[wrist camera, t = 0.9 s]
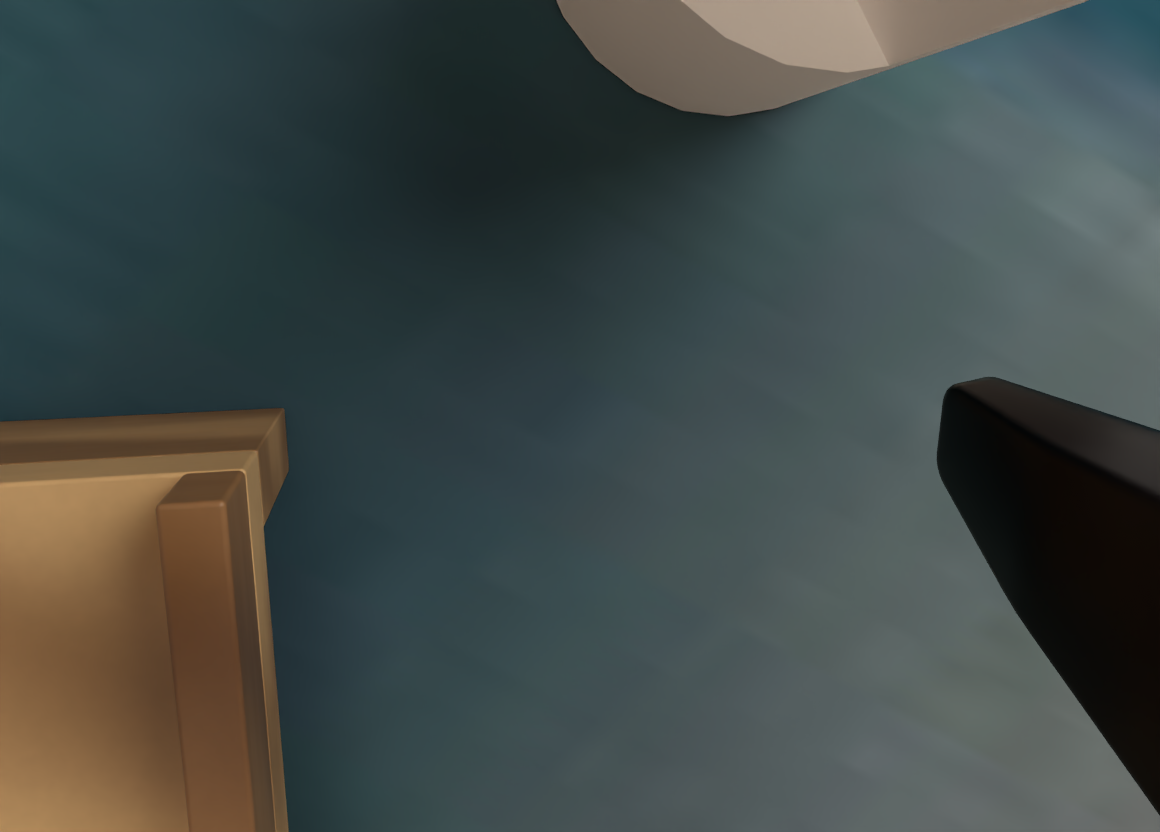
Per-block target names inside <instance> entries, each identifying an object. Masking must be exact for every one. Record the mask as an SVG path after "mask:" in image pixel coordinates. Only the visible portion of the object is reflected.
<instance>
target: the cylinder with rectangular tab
mask: <svg viewBox="0 0 1160 832" xmlns="http://www.w3.org/2000/svg"><path fill="white" fill-rule="evenodd" d="M556 1H557V3H558V6H559V8H560V10H561V13H562V15H563V17H564V18H565V20H566V21H567V22H568V24H569V25H570V26H571V28H572V29H573V30H574V31H575V33H576V34H577V35H578V37H579V38H580V39H581V41H582V42H583V43H584V45H585V46H586V47H587V49H588V50H589V51H590V53H591V54H592V55H593V57H594V58H595V59H596V60H597V61H598V62H599V63H601V64H602V65H603V66H605V67H606V68H607V69H608V70H610V71H611V72H612V73H613V74H615V75H616V76H617V77H619V78H620V79H621V80H622V81H624V82H625V83H626V84H627V85H629V86H630V87H631V88H632V89H634V90H635V91H636V92H639V93H641V94H643V95H646V96H648V97H650V98H653V99H655V100H658V101H660V102H662V103H665V104H667V105H669V106H672V107H674V108H676V109H679V110H681V111H688V112H697V113H705V114H714V115H722V116H734V115H740V114H745V113H751V112H757V111H763V110H769V109H775V108H778V107H781V106H784V105H787V104H789V103H792V102H795V101H798V100H801V99H804V98H807V97H810V96H813V95H816V94H818V93H821V92H824V91H827V90H830V89H833V88H836V87H839V86H842V85H845V84H847V83H850V82H853V81H856V80H859V79H862V78H865V77H868V76H871V75H874V74H877V73H879V72H882V71H885V70H888V69H891V68H894V67H897V66H900V65H903V64H906V63H908V62H911V61H914V60H917V59H920V58H923V57H926V56H929V55H932V54H935V53H937V52H940V51H943V50H946V49H949V48H952V47H955V46H958V45H961V44H964V43H967V42H969V41H972V40H975V39H978V38H981V37H984V36H987V35H990V34H993V33H996V32H998V31H1001V30H1004V29H1007V28H1010V27H1013V26H1016V25H1019V24H1022V23H1025V22H1027V21H1030V20H1033V19H1036V18H1039V17H1042V16H1045V15H1048V14H1051V13H1054V12H1056V11H1059V10H1062V9H1065V8H1068V7H1071V6H1074V5H1077V4H1080V3H1083V2H1086V1H1088V0H556Z"/></svg>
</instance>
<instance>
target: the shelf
mask: <svg viewBox="0 0 1160 832" xmlns="http://www.w3.org/2000/svg"><path fill="white" fill-rule="evenodd" d="M288 471H289V463H288V450H287V437H286V424H285V411H284V409H283V408H272V409H252V410H231V411H210V412H190V413H169V414H148V415H128V416H107V417H86V418H66V419H45V420H24V421H4V422H0V832H289V830H288V818H287V806H286V794H285V782H284V770H283V758H282V745H281V733H280V721H279V709H278V697H277V685H276V673H275V661H274V649H273V636H272V624H271V612H270V600H269V588H268V576H267V564H266V552H265V539H264V525H265V523H266V520H267V518H268V516H269V514H270V511H271V509H272V507H273V505H274V502H275V500H276V498H277V496H278V493H279V491H280V489H281V486H282V484H283V482H284V480H285V477H286V475H287V473H288Z"/></svg>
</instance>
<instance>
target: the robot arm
mask: <svg viewBox="0 0 1160 832" xmlns="http://www.w3.org/2000/svg"><path fill="white" fill-rule="evenodd" d="M937 466H938V470H939V474H940V476H941V479H942V481H943V483H944V485H945V487H946V489H947V491H948V492H949V494H950V496H951V498H952V500H953V501H954V503H955V505H956V507H957V509H958V510H959V512H960V514H961V516H962V518H963V519H964V521H965V523H966V525H967V527H968V528H969V530H970V532H971V534H972V536H973V537H974V539H975V541H976V543H977V545H978V546H979V548H980V550H981V552H982V554H983V555H984V557H985V559H986V561H987V563H988V564H989V566H990V568H991V570H992V572H993V573H994V575H995V577H996V579H997V581H998V582H999V584H1000V586H1001V588H1002V590H1003V591H1004V593H1005V595H1006V596H1007V598H1008V600H1009V601H1010V603H1011V605H1012V606H1013V608H1014V610H1015V611H1016V613H1017V614H1018V616H1019V617H1020V619H1021V620H1022V622H1023V623H1024V625H1025V626H1026V628H1027V629H1028V631H1029V632H1030V634H1031V635H1032V636H1033V638H1034V639H1035V641H1036V642H1037V643H1038V645H1039V646H1040V648H1041V649H1042V651H1043V652H1044V653H1045V655H1046V656H1047V658H1048V659H1049V660H1050V662H1051V663H1052V665H1053V666H1054V667H1055V669H1056V670H1057V672H1058V673H1059V674H1060V676H1061V677H1062V679H1063V680H1064V681H1065V683H1066V684H1067V686H1068V687H1069V689H1070V690H1071V691H1072V693H1073V694H1074V696H1075V697H1076V698H1077V700H1078V701H1079V703H1080V704H1081V705H1082V707H1083V708H1084V710H1085V711H1086V712H1087V714H1088V715H1089V717H1090V718H1091V719H1092V721H1093V722H1094V724H1095V725H1096V726H1097V728H1098V729H1099V731H1100V732H1101V734H1102V735H1103V736H1104V738H1105V739H1106V741H1107V742H1108V743H1109V745H1110V746H1111V748H1112V749H1113V750H1114V752H1115V753H1116V755H1117V756H1118V757H1119V759H1120V760H1121V762H1122V763H1123V764H1124V766H1125V767H1126V769H1127V770H1128V772H1129V773H1130V774H1131V776H1132V777H1133V779H1134V780H1135V781H1136V783H1137V784H1138V786H1139V787H1140V788H1141V790H1142V791H1143V793H1144V794H1145V795H1146V797H1147V798H1148V800H1149V801H1150V802H1151V804H1152V805H1153V807H1154V808H1155V810H1156V811H1157V812H1158V814H1159V815H1160V431H1159V430H1156V429H1153V428H1150V427H1147V426H1144V425H1141V424H1138V423H1135V422H1132V421H1129V420H1125V419H1122V418H1119V417H1116V416H1113V415H1110V414H1107V413H1104V412H1101V411H1098V410H1095V409H1092V408H1089V407H1086V406H1083V405H1079V404H1076V403H1073V402H1070V401H1067V400H1064V399H1061V398H1058V397H1055V396H1052V395H1049V394H1046V393H1043V392H1040V391H1036V390H1033V389H1030V388H1027V387H1024V386H1021V385H1018V384H1015V383H1012V382H1009V381H1006V380H1003V379H1000V378H996V377H984V378H979V379H975V380H971V381H966V382H962V383H957V384H954V385H952V386H951V387H950V388H949V389H948V390H947V391H946V393H945V395H944V399H943V405H942V414H941V422H940V431H939V440H938V448H937Z"/></svg>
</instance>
